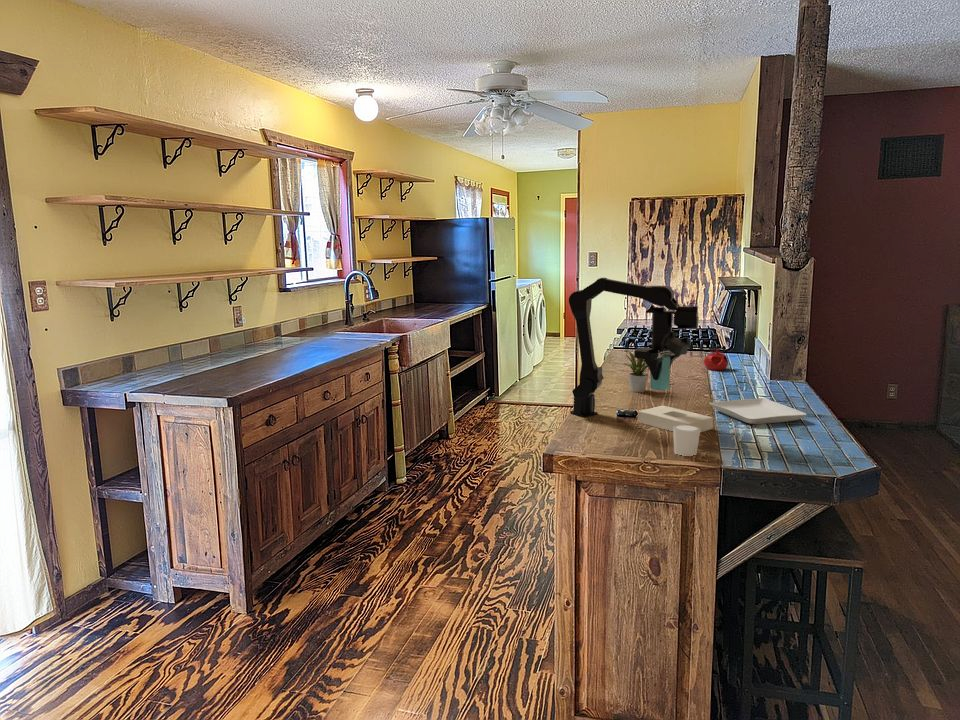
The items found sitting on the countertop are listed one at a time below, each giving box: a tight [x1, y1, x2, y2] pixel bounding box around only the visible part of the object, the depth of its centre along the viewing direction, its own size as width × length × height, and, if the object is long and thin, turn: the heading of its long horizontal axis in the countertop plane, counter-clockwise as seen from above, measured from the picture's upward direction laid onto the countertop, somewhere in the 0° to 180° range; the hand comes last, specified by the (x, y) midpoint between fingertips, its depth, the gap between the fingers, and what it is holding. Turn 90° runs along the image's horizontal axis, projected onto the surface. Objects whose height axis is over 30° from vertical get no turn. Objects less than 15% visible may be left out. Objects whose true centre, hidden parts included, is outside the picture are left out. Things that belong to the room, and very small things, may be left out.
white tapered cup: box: [672, 425, 701, 457], centre depth 173 cm, size 7×7×7 cm
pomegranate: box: [703, 348, 729, 372], centre depth 287 cm, size 10×10×9 cm
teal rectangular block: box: [649, 355, 671, 391], centre depth 201 cm, size 4×4×10 cm
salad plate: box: [709, 397, 808, 425], centre depth 210 cm, size 21×21×3 cm
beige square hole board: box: [637, 405, 714, 433], centre depth 199 cm, size 12×18×4 cm, turn 38°
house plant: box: [621, 346, 649, 393], centre depth 243 cm, size 14×14×16 cm
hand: (660, 378), depth 201 cm, fingers closed on teal rectangular block, 4 cm apart
